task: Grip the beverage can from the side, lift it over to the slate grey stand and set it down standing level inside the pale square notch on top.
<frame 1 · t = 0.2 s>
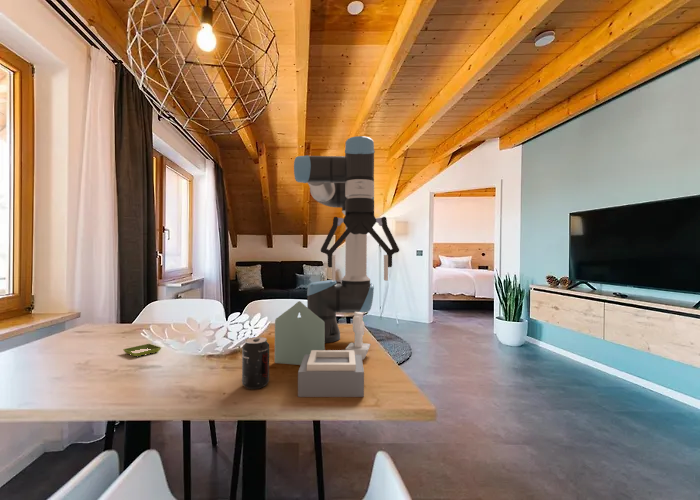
hand: (359, 280, 88), 28 cm above the table, tool pointing down, fingers open, 13 cm apart
figurine: (358, 357, 113), on the table
green shallow square tray: (142, 354, 116), on the table
stand: (331, 385, 89), on the table
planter: (303, 361, 109), on the table
beverage can: (255, 386, 88), on the table
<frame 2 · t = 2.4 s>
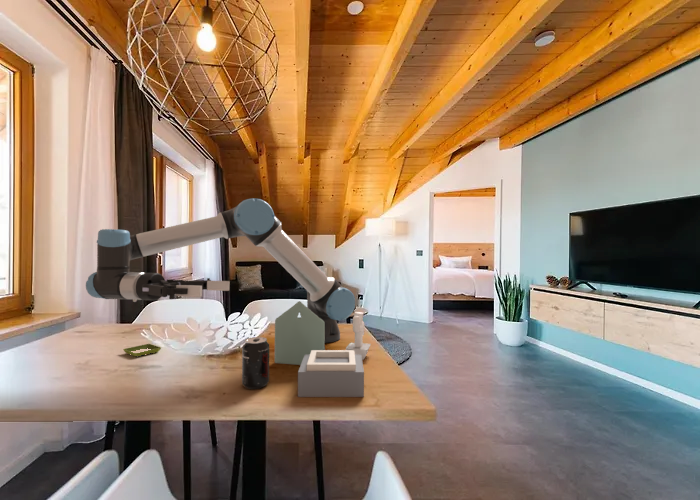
hand: (216, 288, 90), 25 cm above the table, tool horizontal, fingers open, 13 cm apart
nothing on the table moved.
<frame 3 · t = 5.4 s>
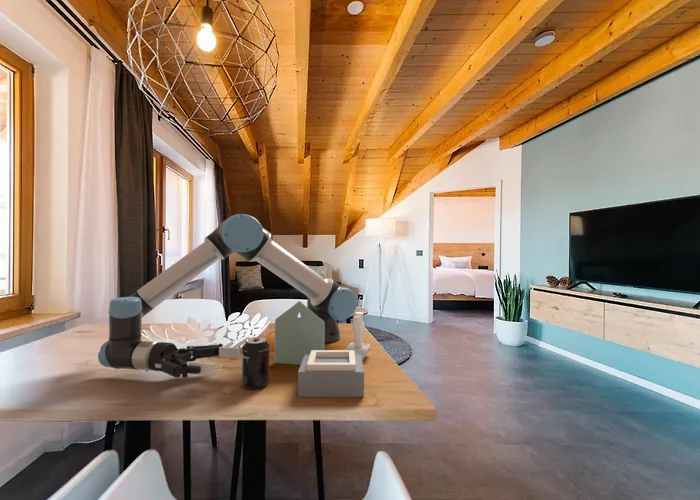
hand: (228, 360, 89), 6 cm above the table, tool horizontal, fingers open, 13 cm apart
nothing on the table moved.
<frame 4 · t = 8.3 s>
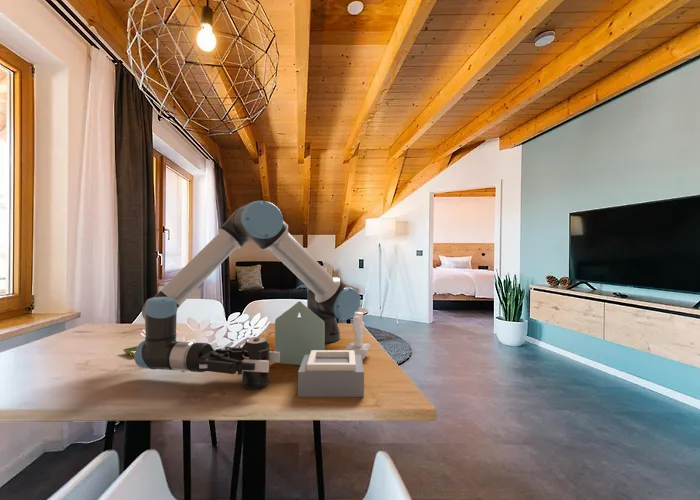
hand: (273, 361, 88), 7 cm above the table, tool horizontal, fingers closed on beverage can, 7 cm apart
beverage can: (255, 386, 88), on the table, touching gripper
everything else where it was.
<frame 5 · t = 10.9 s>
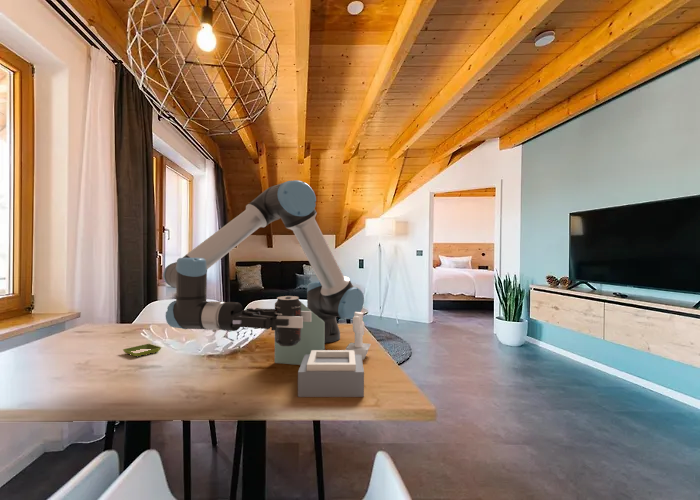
hand: (306, 319, 87), 18 cm above the table, tool horizontal, fingers closed on beverage can, 7 cm apart
beverage can: (287, 344, 87), point 11 cm above the table, touching gripper
everything else where it was.
when the fingers open (13 cm above the table, at t = 13.5 s): beverage can stays where it is, resting on stand.
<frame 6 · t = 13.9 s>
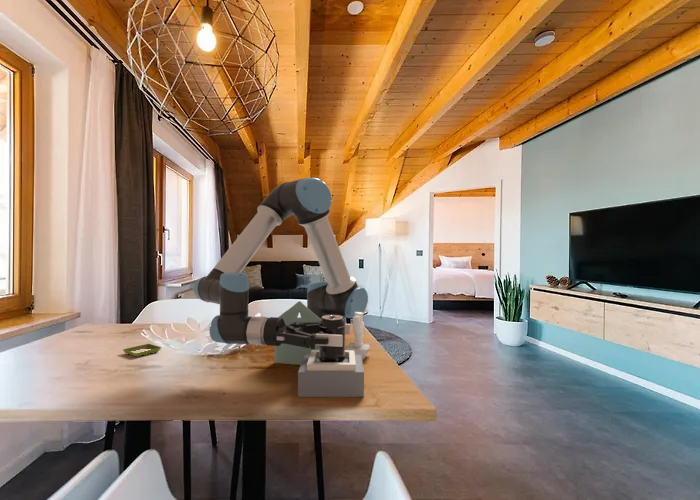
hand: (346, 334, 88), 13 cm above the table, tool horizontal, fingers open, 11 cm apart
beverage can: (331, 363, 89), point 6 cm above the table, touching stand
everything else where it was.
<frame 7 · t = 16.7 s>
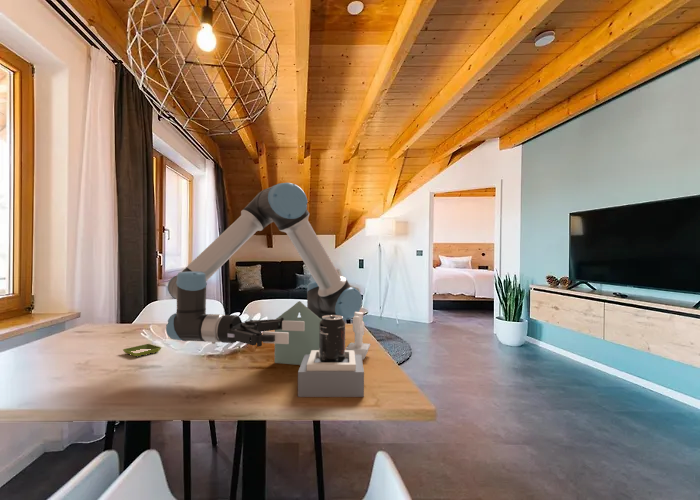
hand: (297, 331, 91), 14 cm above the table, tool horizontal, fingers open, 13 cm apart
nothing on the table moved.
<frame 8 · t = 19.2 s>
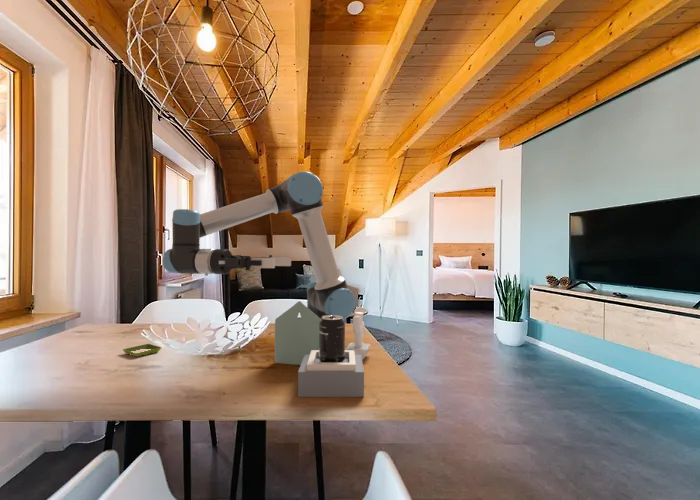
hand: (283, 262, 98), 32 cm above the table, tool horizontal, fingers open, 13 cm apart
nothing on the table moved.
at the end: beverage can 0.1 cm off-centre on the stand, point 5.8 cm above the stand's base; beverage can tilted 0°; the gripper is holding nothing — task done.
